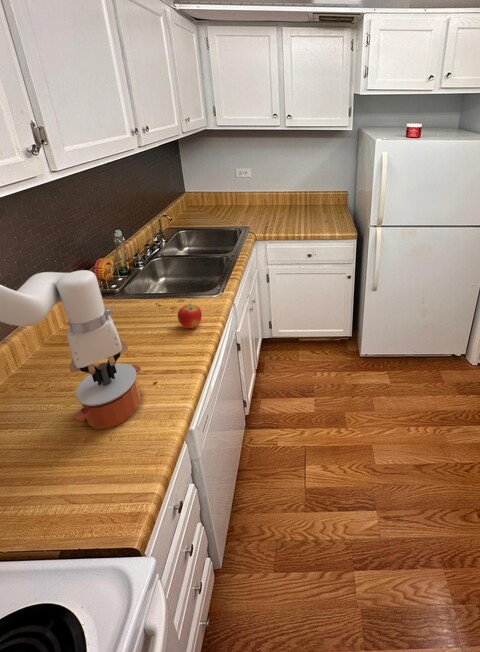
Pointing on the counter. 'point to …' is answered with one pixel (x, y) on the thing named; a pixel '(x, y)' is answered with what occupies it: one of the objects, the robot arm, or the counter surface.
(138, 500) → the counter surface
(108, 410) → the saucepan
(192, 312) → the apple
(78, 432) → the counter surface
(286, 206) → the counter surface
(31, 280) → the robot arm
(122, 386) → the pan lid
